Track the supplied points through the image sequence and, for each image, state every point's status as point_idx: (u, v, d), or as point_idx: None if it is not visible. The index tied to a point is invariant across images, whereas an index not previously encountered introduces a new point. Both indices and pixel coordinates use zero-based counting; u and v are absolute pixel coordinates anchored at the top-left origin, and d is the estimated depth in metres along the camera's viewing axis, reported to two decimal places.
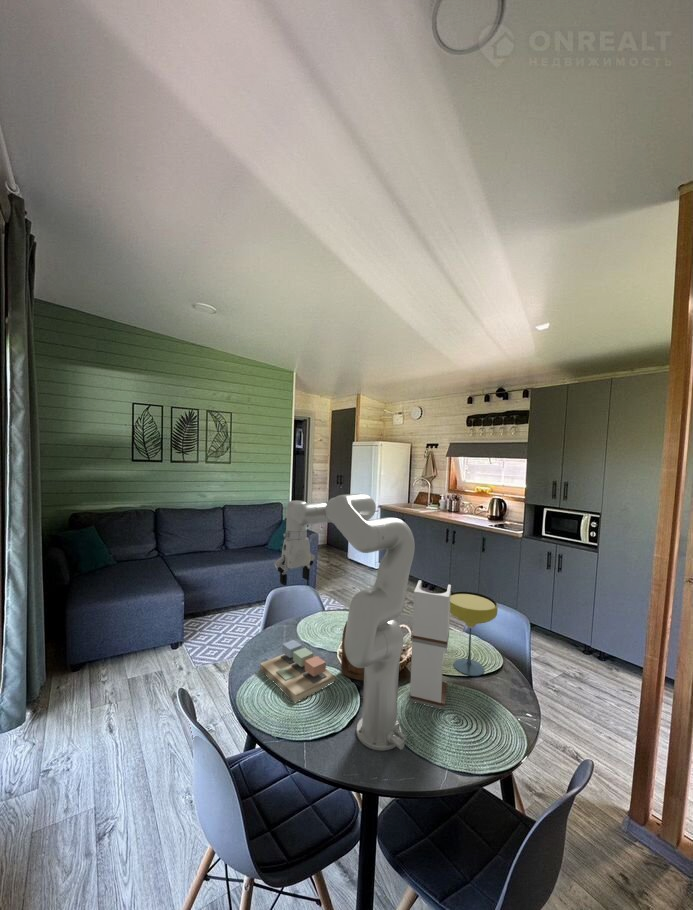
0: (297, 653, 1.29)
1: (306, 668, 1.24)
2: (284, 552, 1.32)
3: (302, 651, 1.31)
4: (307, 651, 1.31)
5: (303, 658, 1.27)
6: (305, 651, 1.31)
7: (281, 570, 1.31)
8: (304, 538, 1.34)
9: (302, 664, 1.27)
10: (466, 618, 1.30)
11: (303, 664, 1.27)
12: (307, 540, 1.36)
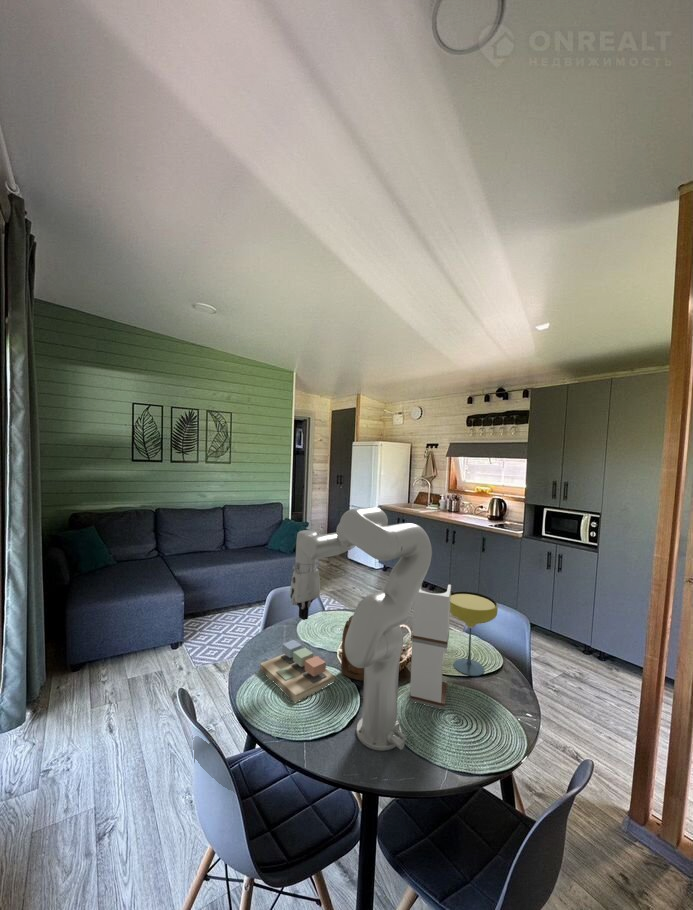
0: (297, 653, 1.29)
1: (306, 668, 1.24)
2: (293, 585, 1.27)
3: (302, 651, 1.31)
4: (307, 651, 1.31)
5: (303, 658, 1.27)
6: (305, 651, 1.31)
7: (300, 605, 1.28)
8: (314, 570, 1.28)
9: (302, 664, 1.27)
10: (466, 618, 1.30)
11: (303, 664, 1.27)
12: (317, 572, 1.30)
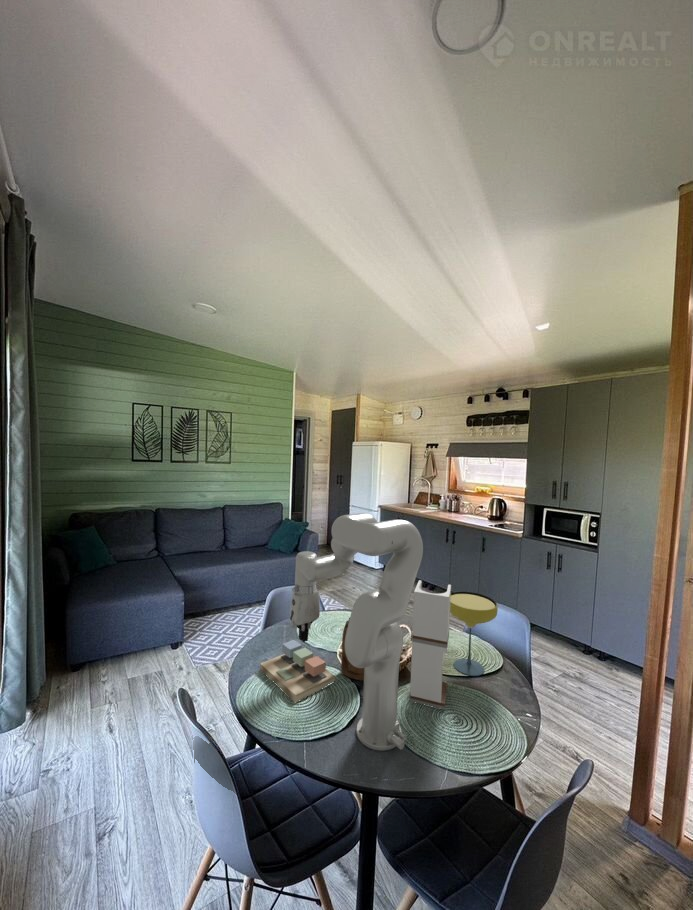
0: (297, 653, 1.29)
1: (306, 668, 1.24)
2: (292, 607, 1.27)
3: (302, 651, 1.31)
4: (307, 651, 1.31)
5: (303, 658, 1.27)
6: (305, 651, 1.31)
7: (300, 627, 1.28)
8: (314, 592, 1.28)
9: (302, 664, 1.27)
10: (466, 618, 1.30)
11: (303, 664, 1.27)
12: (317, 593, 1.30)
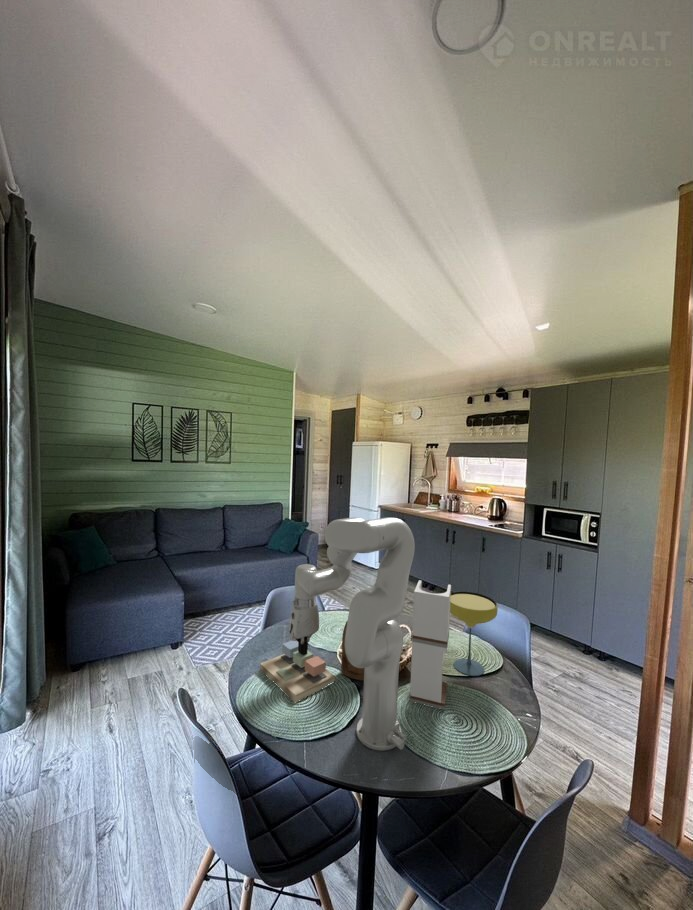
0: (297, 654, 1.29)
1: (306, 668, 1.24)
2: (292, 621, 1.27)
3: None
4: (307, 652, 1.31)
5: (303, 659, 1.27)
6: None
7: (300, 640, 1.28)
8: (313, 605, 1.28)
9: (302, 665, 1.27)
10: (466, 618, 1.30)
11: (303, 665, 1.27)
12: (316, 606, 1.30)
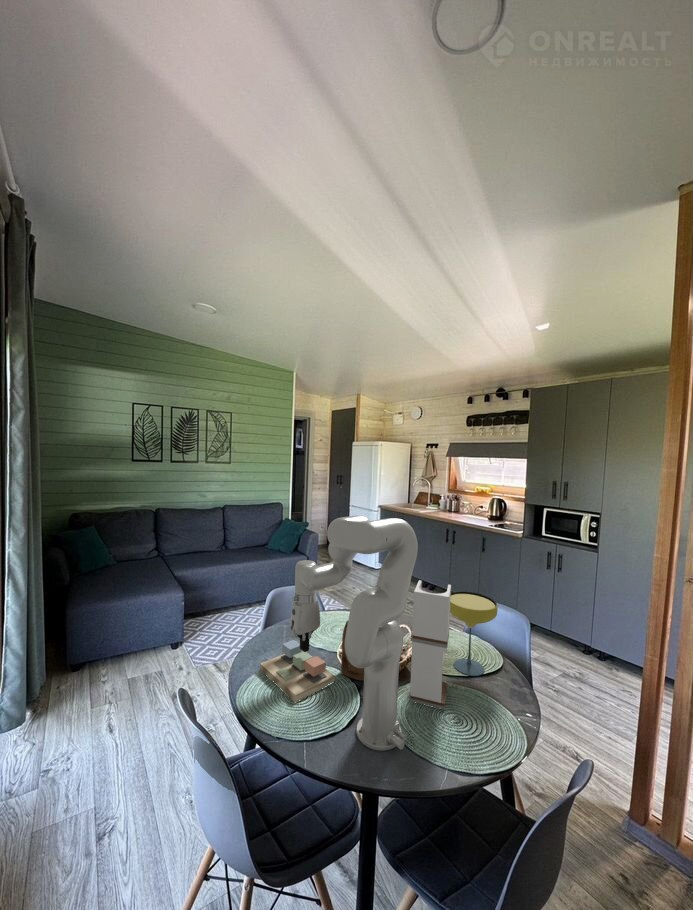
0: (297, 657, 1.29)
1: (306, 668, 1.24)
2: (293, 617, 1.26)
3: (302, 655, 1.31)
4: (306, 655, 1.31)
5: (303, 662, 1.27)
6: (305, 655, 1.31)
7: (301, 636, 1.28)
8: (314, 601, 1.28)
9: (302, 668, 1.27)
10: (466, 618, 1.30)
11: (303, 668, 1.27)
12: (317, 602, 1.30)
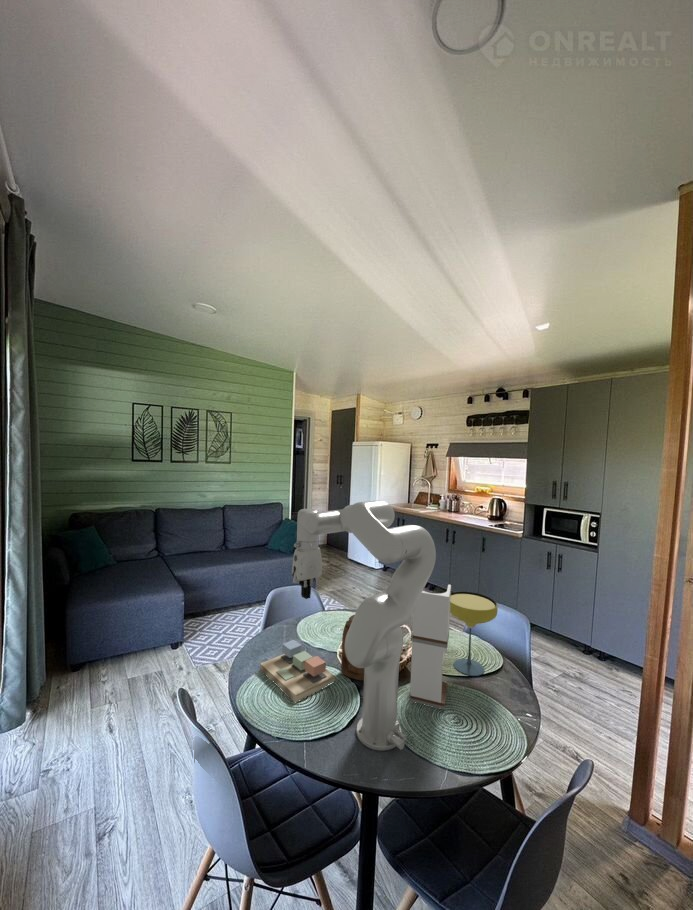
0: (297, 657, 1.29)
1: (306, 668, 1.24)
2: (295, 563, 1.26)
3: (302, 655, 1.31)
4: (306, 655, 1.31)
5: (303, 662, 1.27)
6: (305, 655, 1.31)
7: (303, 583, 1.27)
8: (316, 548, 1.28)
9: (302, 668, 1.27)
10: (466, 618, 1.30)
11: (303, 668, 1.27)
12: (319, 550, 1.30)
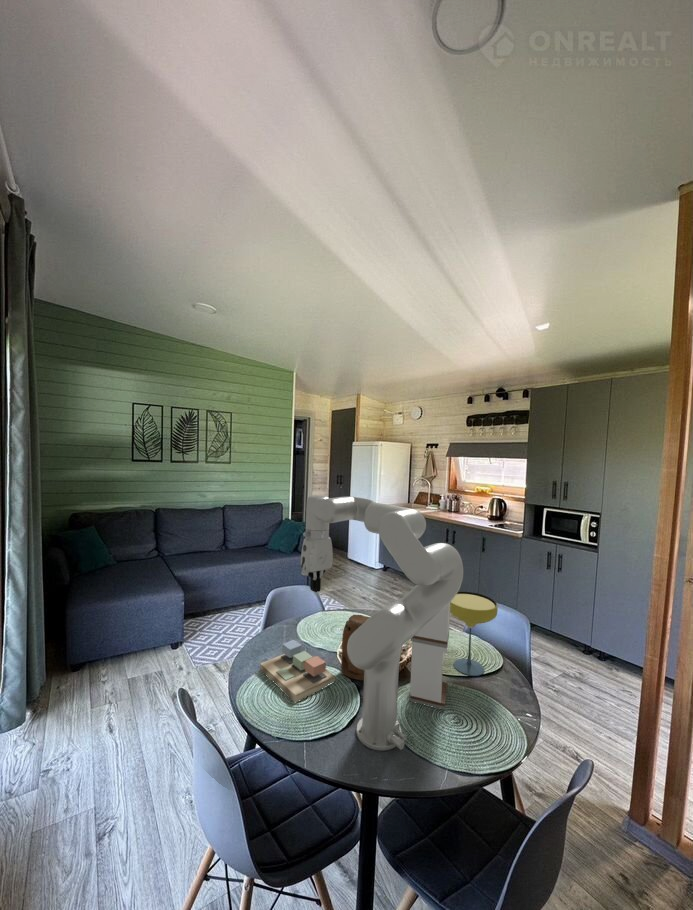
0: (297, 657, 1.29)
1: (306, 668, 1.24)
2: (304, 553, 1.17)
3: (302, 655, 1.31)
4: (306, 655, 1.31)
5: (303, 662, 1.27)
6: (305, 655, 1.31)
7: (312, 575, 1.18)
8: (326, 538, 1.18)
9: (302, 668, 1.27)
10: (466, 618, 1.30)
11: (303, 668, 1.27)
12: (329, 540, 1.20)
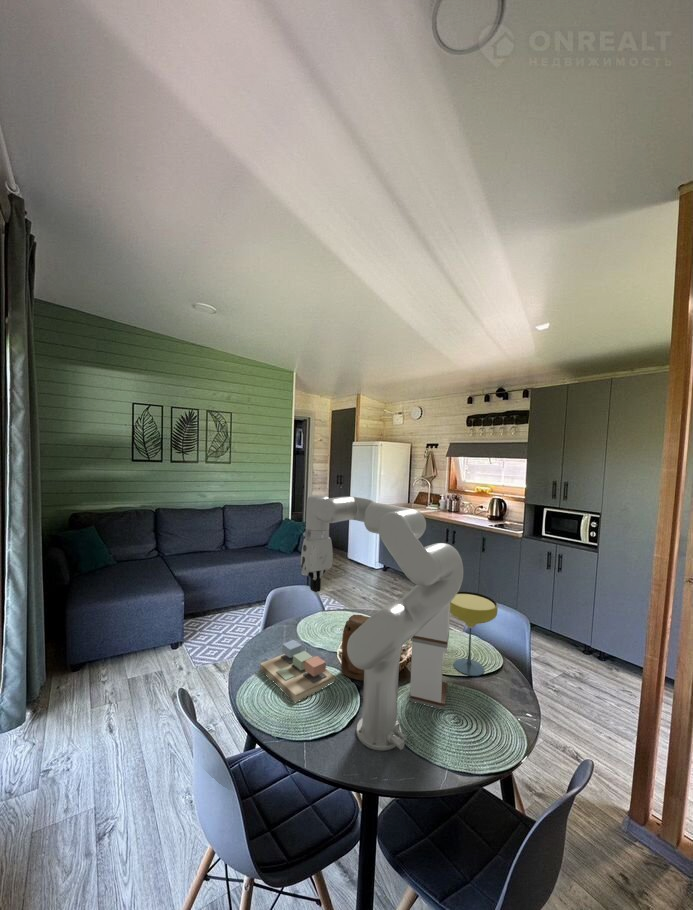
0: (297, 657, 1.29)
1: (306, 668, 1.24)
2: (304, 553, 1.17)
3: (302, 655, 1.31)
4: (306, 655, 1.31)
5: (303, 662, 1.27)
6: (305, 655, 1.31)
7: (312, 575, 1.18)
8: (326, 538, 1.18)
9: (302, 668, 1.27)
10: (466, 618, 1.30)
11: (303, 668, 1.27)
12: (329, 540, 1.20)
